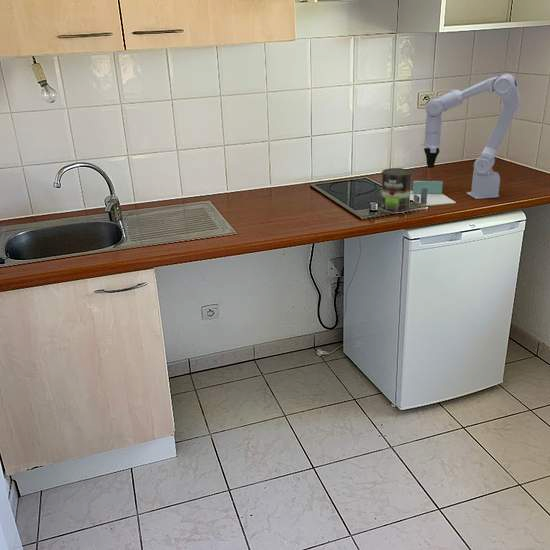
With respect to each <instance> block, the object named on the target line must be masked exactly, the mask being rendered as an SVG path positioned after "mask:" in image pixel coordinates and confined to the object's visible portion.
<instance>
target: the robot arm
mask: <svg viewBox="0 0 550 550" xmlns="http://www.w3.org/2000/svg"><path fill="white" fill-rule="evenodd" d="M484 92H487V93H493V92H495V93H496V95H497V96H499V97H500V98H501V100H502V104H503V105H504V106H503V108H502V110H501V113H500V114H499V117H498V120H497V121H496V122H495V125H494V127H493V129H492V131H491V134H490V135H489V137H488V140H487V143H486V144H485V147H484V149H483V150H482V152H481V154H480V155H479V156H477V159H476V160H475V161H474V163H473V171H472V180H471V181H472V182H471V191H467V192H466V194H467V195H468V196H470V197H472V198H473V199H476V200H480V199H490V198H491V199H492V198H500V195H499V191H500V184H501V176H500V174H499V172H497V171H494V170H493V166H494V165H495V163H496V155H497V153H498V151H499V148H500V147H501V144H502V142H503V140H504V137H505V136H506V134H507V132H508V129H509V128H510V125H511V123H512V121H513V120H514V118H515V115H516V113H517V111H518V109H519V107H520V104H521V99H520V98H521V97H520V89H519V82H518V81H517V79H516V77H515V76H514V75H513V74H511V73H504V74H502V75H500V76H499V75H497V76H494V77H490V78H487V79H485V80H483V81H481V82H478V83H476V84H474V85H472V86H470V87H468V88H465V89H463V90H459V89H453V88H452V89H451V90H449V92H447V93H446V94H443V95H437V96H436V98H433V99H432V100H430V101H428V102H427V103H426V104H425V112H426V119H425V132H424V142H422V143H421V144H420V145H421V147H424V148H423V151H424V154H425V159H426V166H427V168H428V169H434V167H435V164H436V161H437V160H436V159H437V157H438V155H439V153H440V148H439V147H440V146H441V135H442V134H441V133H442V121H443V120H442V117H443V112H447V111H449V110H451V109H454V108H457V107H459V106H462V105H463V104H464V101H465V100H466V99H469V98H471V97H474V96H477V95H479V94H482V93H484Z"/></svg>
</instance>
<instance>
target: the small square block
mask: <svg viewBox="0 0 550 550" xmlns="http://www.w3.org/2000/svg"><path fill="white" fill-rule="evenodd" d="M427 190H428V189H426V188H422V190H421V204H423V205H425V204H426V203H427ZM419 200H420V197H419V196H417V195H414V201H416V202H417V203H418V202H419Z"/></svg>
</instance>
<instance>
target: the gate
mask: <svg viewBox="0 0 550 550" xmlns="http://www.w3.org/2000/svg"><path fill="white" fill-rule="evenodd" d="M422 188H426V189H428V190H427V193H433V194H443V181H442V180H413V181H412V190H411V191H412V193H421V190H422Z"/></svg>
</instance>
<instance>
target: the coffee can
mask: <svg viewBox="0 0 550 550" xmlns="http://www.w3.org/2000/svg"><path fill="white" fill-rule="evenodd" d="M381 174H382V176H381V177H382V178H381V179H382V181H381V197H380V198H381V199H380V200H381V201H380V209H381V208H382V209H383V210H386V211H390V212H398V213H403V214H405V213H404V212H405V211H407V210H408V209H409V210H410V204H411V202H410V191H412V189H411V188H412V180H411V177H412V175H413V171H412V170H410V169H407V168H399V167H392V168H385V169H383V170H382V172H381Z"/></svg>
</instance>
